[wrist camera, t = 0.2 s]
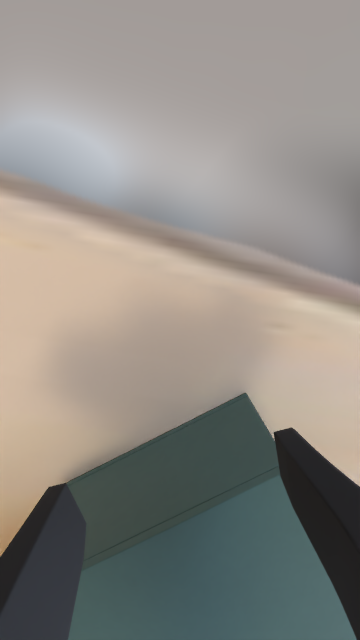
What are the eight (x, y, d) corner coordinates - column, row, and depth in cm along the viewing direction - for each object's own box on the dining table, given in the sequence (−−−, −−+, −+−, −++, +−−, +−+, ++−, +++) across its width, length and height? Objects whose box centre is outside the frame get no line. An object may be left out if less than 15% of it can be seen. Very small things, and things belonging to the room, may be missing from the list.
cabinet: (155, 605, 26) (153, 756, 18) (66, 482, 23) (20, 601, 15) (315, 528, 25) (384, 652, 17) (245, 392, 22) (291, 469, 14)
